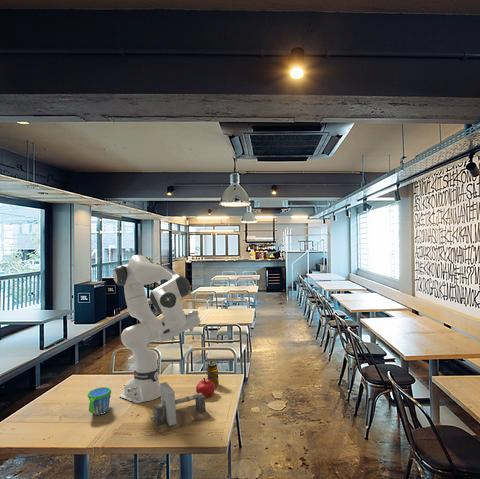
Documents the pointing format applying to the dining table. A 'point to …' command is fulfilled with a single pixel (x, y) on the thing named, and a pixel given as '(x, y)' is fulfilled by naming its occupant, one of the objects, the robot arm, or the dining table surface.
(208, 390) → the pomegranate
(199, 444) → the dining table surface
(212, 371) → the condiment
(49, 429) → the dining table surface
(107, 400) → the snack cup
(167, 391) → the grey slab
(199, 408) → the pipe rig
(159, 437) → the dining table surface
